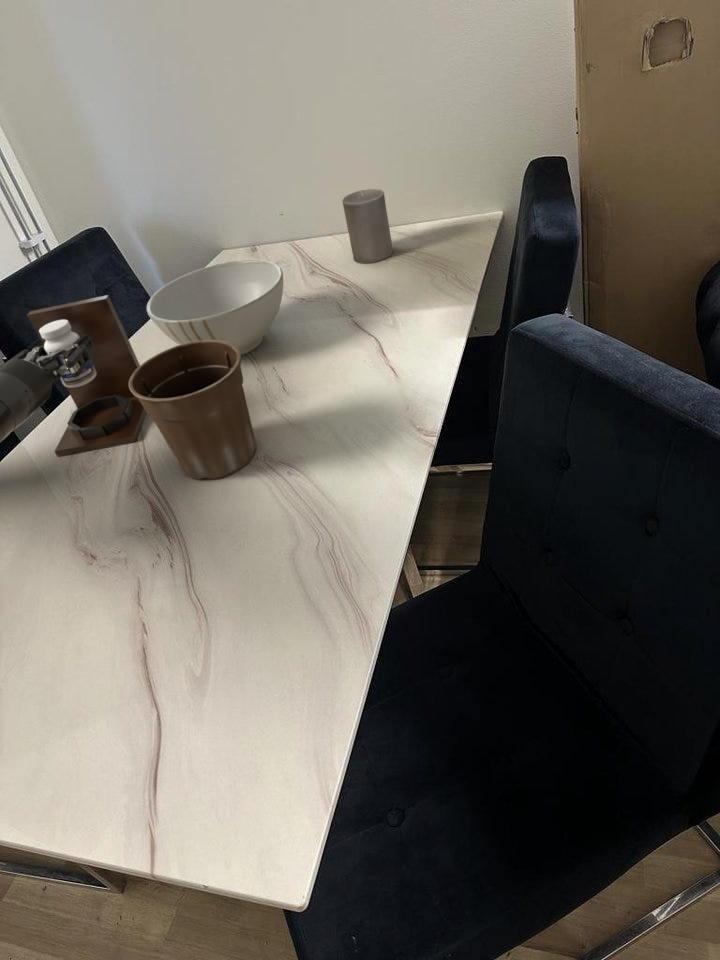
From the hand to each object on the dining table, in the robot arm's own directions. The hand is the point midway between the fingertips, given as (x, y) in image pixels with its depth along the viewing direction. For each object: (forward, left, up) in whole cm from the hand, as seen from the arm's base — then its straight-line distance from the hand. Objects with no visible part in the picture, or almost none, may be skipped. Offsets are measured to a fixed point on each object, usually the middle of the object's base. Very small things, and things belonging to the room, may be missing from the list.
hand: (72, 340), depth 109 cm
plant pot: (+22, -18, -16) cm, 33 cm away
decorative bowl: (+20, +21, -16) cm, 34 cm away
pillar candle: (+51, +54, -16) cm, 76 cm away
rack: (-1, -2, -16) cm, 16 cm away
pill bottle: (-1, -2, -6) cm, 7 cm away
